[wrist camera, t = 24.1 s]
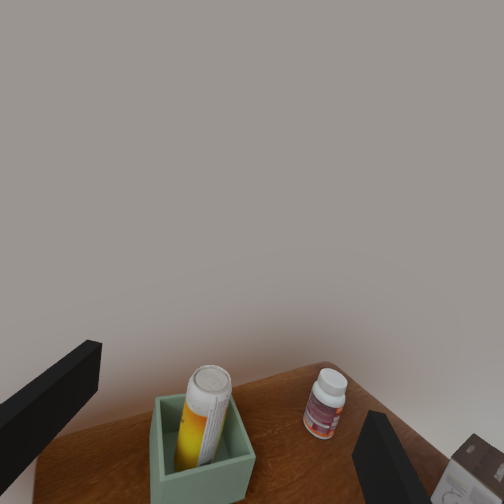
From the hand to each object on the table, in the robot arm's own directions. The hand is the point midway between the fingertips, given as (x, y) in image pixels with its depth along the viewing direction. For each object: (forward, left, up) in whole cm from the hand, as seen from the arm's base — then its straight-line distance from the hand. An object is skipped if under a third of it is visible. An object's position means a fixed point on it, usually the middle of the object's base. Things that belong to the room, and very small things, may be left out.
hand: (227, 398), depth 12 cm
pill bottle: (+32, +20, -31) cm, 49 cm away
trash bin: (+7, +19, -31) cm, 37 cm away
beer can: (+7, +19, -31) cm, 37 cm away
